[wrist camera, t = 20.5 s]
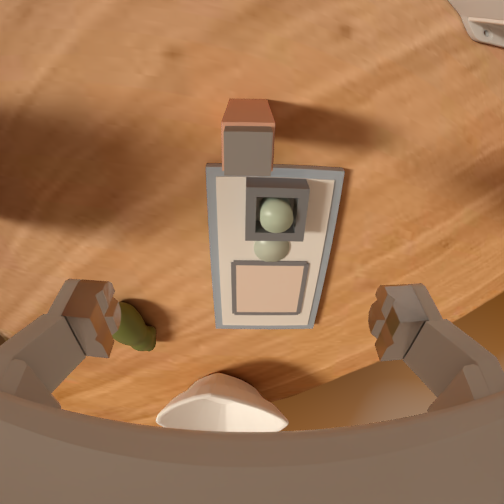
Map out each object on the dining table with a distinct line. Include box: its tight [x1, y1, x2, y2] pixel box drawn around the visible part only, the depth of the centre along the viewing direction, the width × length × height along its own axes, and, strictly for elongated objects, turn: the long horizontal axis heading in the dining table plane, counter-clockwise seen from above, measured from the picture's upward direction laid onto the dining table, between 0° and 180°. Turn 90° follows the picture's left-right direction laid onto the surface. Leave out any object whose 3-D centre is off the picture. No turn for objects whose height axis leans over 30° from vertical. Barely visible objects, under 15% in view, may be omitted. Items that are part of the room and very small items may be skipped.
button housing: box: [245, 177, 310, 242], centre depth 32 cm, size 6×6×2 cm
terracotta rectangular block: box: [221, 99, 275, 176], centre depth 24 cm, size 4×4×12 cm
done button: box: [259, 197, 293, 233], centre depth 32 cm, size 3×3×2 cm
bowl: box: [156, 373, 288, 432], centre depth 54 cm, size 21×21×9 cm
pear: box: [112, 302, 156, 351], centre depth 44 cm, size 6×5×10 cm
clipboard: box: [206, 163, 345, 329], centre depth 38 cm, size 14×24×1 cm, turn 179°
